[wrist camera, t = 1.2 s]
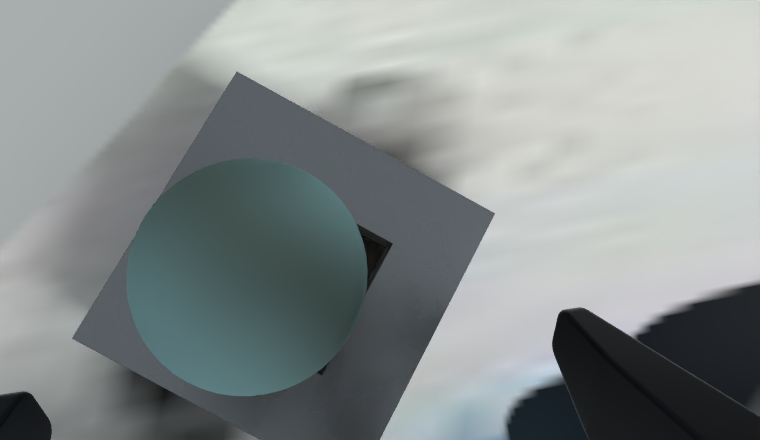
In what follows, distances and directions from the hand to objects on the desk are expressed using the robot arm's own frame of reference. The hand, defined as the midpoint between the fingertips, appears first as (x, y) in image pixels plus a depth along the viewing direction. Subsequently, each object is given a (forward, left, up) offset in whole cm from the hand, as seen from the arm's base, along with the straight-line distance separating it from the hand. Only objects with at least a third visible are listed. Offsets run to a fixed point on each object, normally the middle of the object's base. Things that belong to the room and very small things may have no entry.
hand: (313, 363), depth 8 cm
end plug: (+1, +2, -14) cm, 14 cm away
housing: (+1, +2, -14) cm, 14 cm away
